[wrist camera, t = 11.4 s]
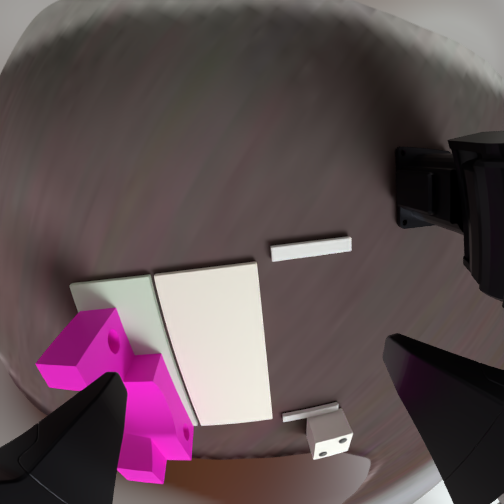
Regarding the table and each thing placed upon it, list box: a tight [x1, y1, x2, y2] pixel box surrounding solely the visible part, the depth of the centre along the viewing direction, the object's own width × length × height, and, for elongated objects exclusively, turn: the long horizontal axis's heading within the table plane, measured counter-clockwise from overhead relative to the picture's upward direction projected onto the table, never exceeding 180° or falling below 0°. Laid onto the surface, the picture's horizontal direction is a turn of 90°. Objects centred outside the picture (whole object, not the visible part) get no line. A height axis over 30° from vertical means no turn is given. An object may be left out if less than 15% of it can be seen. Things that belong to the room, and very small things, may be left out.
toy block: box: [36, 308, 194, 484], centre depth 18 cm, size 15×6×8 cm, turn 8°
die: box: [306, 408, 353, 459], centre depth 24 cm, size 4×4×4 cm
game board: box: [69, 236, 351, 426], centre depth 21 cm, size 22×19×1 cm
